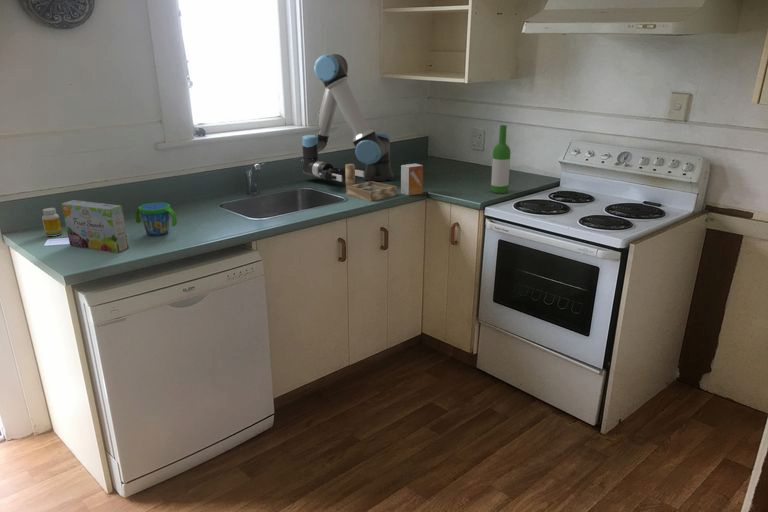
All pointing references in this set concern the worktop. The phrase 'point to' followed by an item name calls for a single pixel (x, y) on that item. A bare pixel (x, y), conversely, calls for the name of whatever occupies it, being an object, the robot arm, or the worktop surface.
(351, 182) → the peg
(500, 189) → the wine bottle
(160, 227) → the snack cup
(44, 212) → the supplement bottle
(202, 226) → the worktop surface
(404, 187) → the small box
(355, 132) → the robot arm
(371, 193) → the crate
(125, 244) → the snack box
